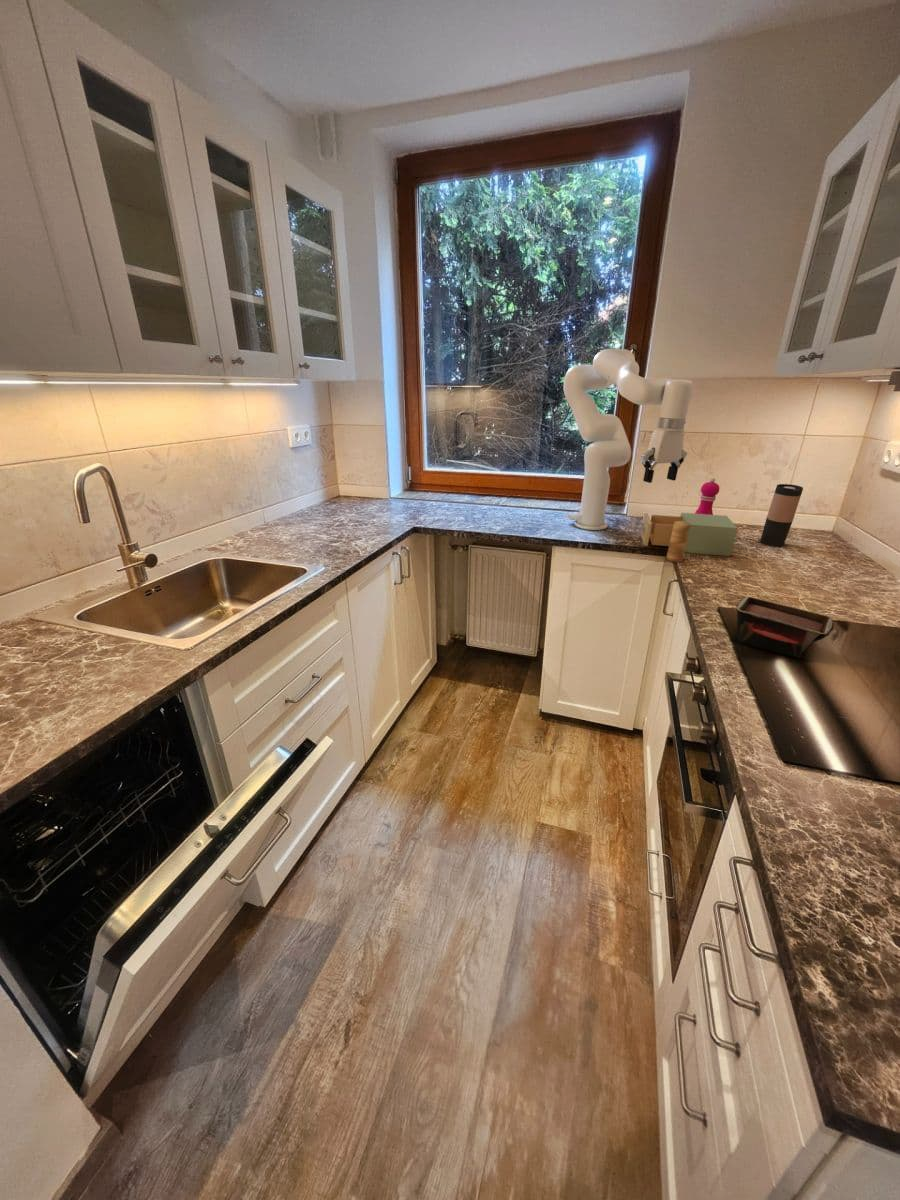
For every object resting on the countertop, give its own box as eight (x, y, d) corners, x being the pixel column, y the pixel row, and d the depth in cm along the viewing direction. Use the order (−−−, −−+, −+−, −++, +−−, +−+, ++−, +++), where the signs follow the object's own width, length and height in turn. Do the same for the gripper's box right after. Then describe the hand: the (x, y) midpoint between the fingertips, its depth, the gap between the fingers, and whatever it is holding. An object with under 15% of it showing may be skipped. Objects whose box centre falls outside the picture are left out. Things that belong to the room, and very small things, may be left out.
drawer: (630, 544, 162) (634, 522, 158) (628, 532, 173) (631, 512, 170) (686, 549, 158) (691, 526, 154) (679, 536, 169) (684, 515, 166)
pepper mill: (713, 534, 175) (728, 480, 166) (694, 534, 175) (707, 479, 166) (704, 528, 182) (718, 475, 173) (686, 528, 182) (698, 475, 173)
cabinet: (682, 552, 158) (688, 524, 154) (675, 538, 171) (681, 512, 166) (729, 556, 155) (737, 528, 150) (719, 542, 167) (726, 515, 163)
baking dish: (745, 625, 117) (748, 588, 113) (835, 642, 104) (843, 602, 100) (723, 650, 108) (726, 611, 105) (819, 673, 96) (826, 629, 92)
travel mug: (762, 538, 171) (780, 482, 162) (787, 543, 166) (806, 486, 157) (756, 543, 166) (773, 486, 158) (781, 548, 161) (800, 490, 153)
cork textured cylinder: (667, 561, 151) (675, 524, 145) (665, 555, 155) (673, 520, 149) (683, 562, 149) (692, 526, 144) (681, 557, 154) (689, 521, 148)
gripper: (683, 422, 149) (671, 476, 157) (639, 423, 143) (629, 480, 151) (702, 424, 143) (688, 481, 151) (657, 426, 137) (646, 485, 145)
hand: (659, 480), depth 151 cm, fingers open, 9 cm apart
